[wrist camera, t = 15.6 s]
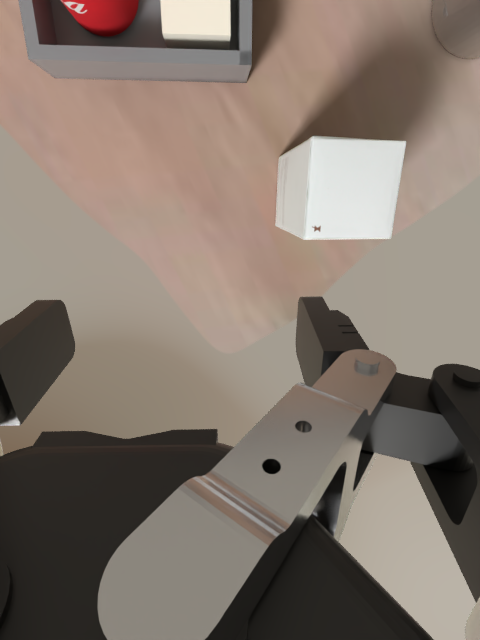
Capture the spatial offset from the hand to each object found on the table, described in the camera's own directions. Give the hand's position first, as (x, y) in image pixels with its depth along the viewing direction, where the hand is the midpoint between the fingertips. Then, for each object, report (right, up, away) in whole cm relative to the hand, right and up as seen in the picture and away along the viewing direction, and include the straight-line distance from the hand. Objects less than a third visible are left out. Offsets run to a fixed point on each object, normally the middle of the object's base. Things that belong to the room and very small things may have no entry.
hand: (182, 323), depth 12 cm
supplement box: (+10, +14, +26) cm, 31 cm away
